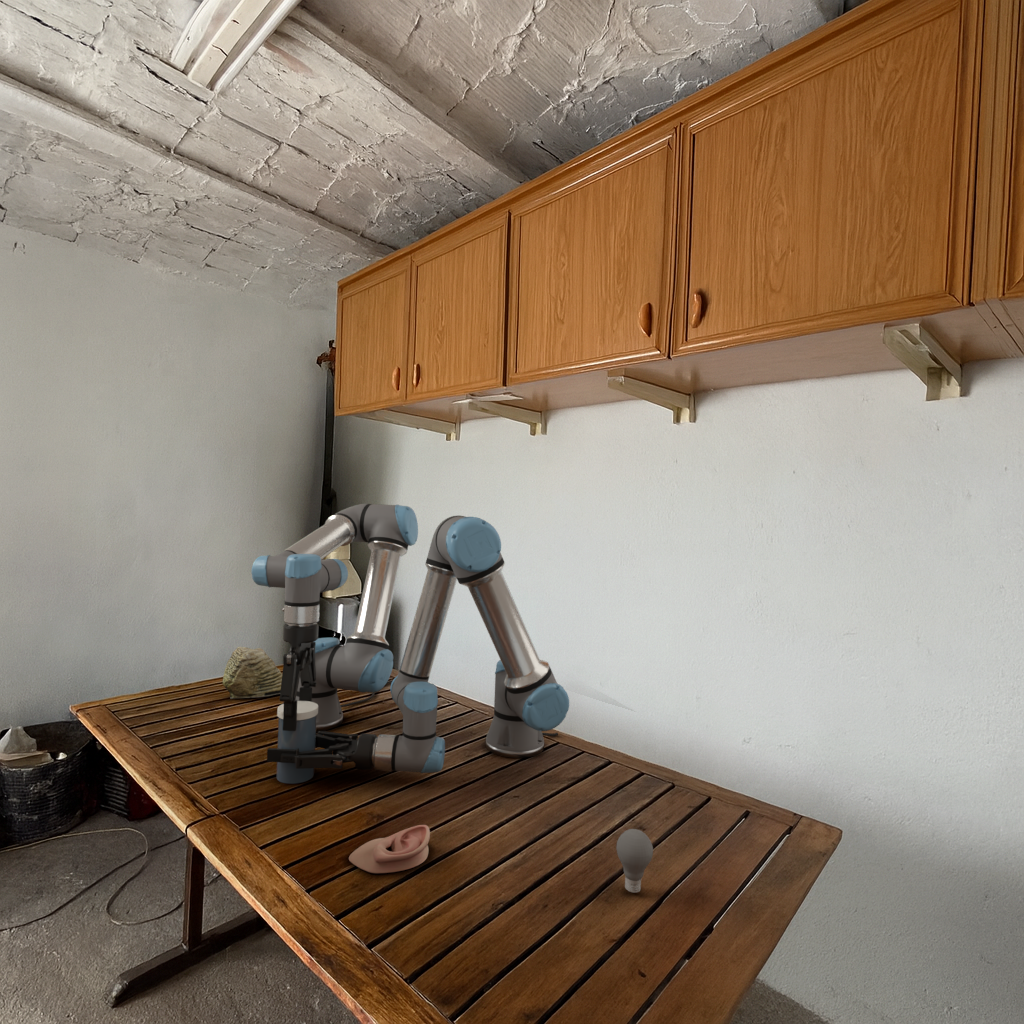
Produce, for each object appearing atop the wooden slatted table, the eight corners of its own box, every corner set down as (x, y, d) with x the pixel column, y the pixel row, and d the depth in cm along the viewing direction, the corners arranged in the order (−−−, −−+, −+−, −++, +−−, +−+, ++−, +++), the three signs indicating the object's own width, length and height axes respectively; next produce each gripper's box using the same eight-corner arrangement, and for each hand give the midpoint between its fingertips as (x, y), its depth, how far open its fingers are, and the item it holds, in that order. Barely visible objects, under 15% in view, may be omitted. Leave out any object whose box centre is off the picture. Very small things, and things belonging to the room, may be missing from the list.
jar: (275, 770, 145) (278, 704, 145) (312, 766, 149) (315, 701, 148) (277, 785, 138) (279, 716, 138) (316, 780, 141) (318, 713, 141)
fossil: (218, 695, 195) (220, 647, 195) (278, 685, 208) (279, 640, 207) (228, 703, 189) (230, 653, 188) (289, 692, 201) (290, 645, 201)
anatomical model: (341, 845, 108) (369, 813, 120) (340, 868, 108) (368, 833, 120) (414, 857, 106) (436, 823, 117) (413, 880, 106) (435, 844, 117)
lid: (276, 709, 145) (276, 702, 145) (316, 706, 149) (316, 699, 149) (278, 722, 137) (278, 715, 137) (319, 718, 141) (320, 711, 141)
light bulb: (610, 879, 108) (613, 822, 108) (644, 879, 109) (647, 822, 109) (619, 902, 102) (622, 840, 102) (655, 901, 103) (658, 840, 103)
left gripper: (301, 613, 153) (298, 706, 154) (264, 632, 132) (260, 739, 132) (332, 615, 153) (328, 708, 154) (300, 633, 132) (296, 741, 132)
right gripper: (363, 789, 132) (255, 784, 133) (385, 750, 153) (292, 745, 154) (364, 754, 132) (256, 748, 133) (386, 719, 153) (293, 714, 154)
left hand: (297, 722), depth 143 cm, fingers closed on lid, 9 cm apart
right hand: (275, 747), depth 143 cm, fingers closed on jar, 8 cm apart
